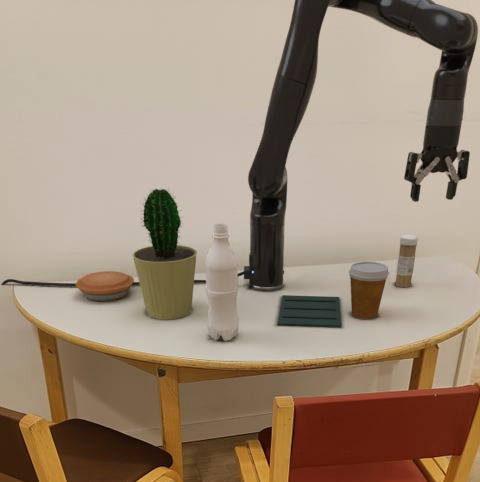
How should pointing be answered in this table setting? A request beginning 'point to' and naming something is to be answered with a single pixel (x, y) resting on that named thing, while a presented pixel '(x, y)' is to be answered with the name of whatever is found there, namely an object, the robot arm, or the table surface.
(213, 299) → the water bottle
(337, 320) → the mat
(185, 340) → the table surface
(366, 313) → the disposable coffee cup
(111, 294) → the pie
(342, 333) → the table surface
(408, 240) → the sprinkles bottle
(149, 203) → the potted cactus
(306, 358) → the table surface
